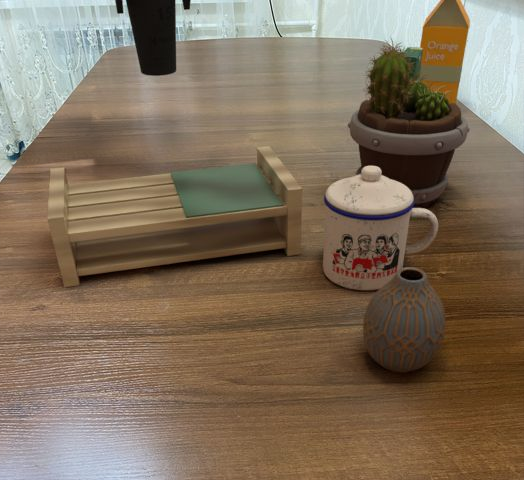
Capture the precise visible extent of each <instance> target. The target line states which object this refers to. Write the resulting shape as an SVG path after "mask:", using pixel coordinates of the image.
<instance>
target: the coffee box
mask: <svg viewBox="0 0 524 480" xmlns="http://www.w3.org/2000/svg"><path fill="white" fill-rule="evenodd" d="M403 51H404V52H403V53H406V54H404V56H403V58H404V57H405V55H406V58H404V59H407V60H408V59H411V60H408V62H409V61H410V62H409V64H410V63H413V62H415V63H413V65H412V64H410V65H412V66H413V67H414V68H415V70H412V71H410V72H409V79H410V80H411V77H410V76H414V75H415V76H416V77H417V76H418V77H419V78H420V74H419V73H420V70H421V61H422V53H423V48H420V46H419V47H418V46H416V47H415V46H407V47H405V49H404V50H403ZM403 53H402V54H403ZM409 54H410V55H409ZM407 55H408V56H407ZM408 57H409V58H408ZM407 60H406V61H407ZM410 67H411V66H410ZM413 67H411V68H413ZM417 69H418V70H417ZM418 72H419V73H418ZM413 73H414V74H413ZM415 73H416V74H415ZM410 74H411V75H410ZM417 74H419V75H417ZM415 76H414V78H413V77H412V78H413V81H415V80H414V79H415ZM419 78H417V81H419Z"/></svg>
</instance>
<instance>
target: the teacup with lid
mask: <svg viewBox="0 0 524 480" xmlns="http://www.w3.org/2000/svg"><path fill="white" fill-rule="evenodd" d="M381 174H382V171H381V169H380V168H379V167H377V166H366V167H364V168H363V169H362V170H361V174H359V175H356V174H355V175H353V176H349V177H345V178H341V179H339V180H336V181H334V182H333V183H332V184H330V185H329V186H328V188H327V189H326V190H325V194H324V196H323V202H324V204H325V218H324V233H323V234H324V236H323V238H324V239H323V255H322V257H323V258H322V271H323V274H324V275H325V276H326V277H327V279H328V280H330V281H331V282H332V283H334V284H336V285H338V286H340V287H342V288H346V289H350V290H356V291H375V290H376V291H378V290H379V289H380V288H382V287H383V286H384V285H385V284H386V283H388V282H389V281H390V280H391V279H392V278H393V277H394V276H395V274H396V273H397V271H398V270H399V269H401V268H404V260H405V255H412V254H413V255H414V254H417V253H420V252H422V251H425V250H426V249H427V248H428V247H429V246H430V245H432V243H433V242H434V240H435V239H436V236H437V235H438V234H437V233H438V231H439V221H438V218H437V216H436V215H435V214H434V212H432V211H431V210H429V209H427V208H413V206H414V198H413V194H412V192H411V190H410V189H409V188H408V187H407V186H405V185H404V184H402V183H400V182H398V181H395V180H392V179H389V178H387V177H385V176H383V175H381ZM410 218H423V219H426V220H427V221H428V222H430V227H429V229H428V231H427V233H426V234H425V236H424V237H423V238H422V239H421V240H419V241H417V242H416V243H412V244H407V239H408V233H409V227H410V226H409V225H410Z"/></svg>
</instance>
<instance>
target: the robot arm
mask: <svg viewBox="0 0 524 480" xmlns="http://www.w3.org/2000/svg"><path fill="white" fill-rule="evenodd" d="M123 1H124V0H114V2H115V7H116V13H117V15H119V14H120V15H122V14H124V2H123ZM181 2H182V7H183V10H184V11H189V10H191V2H192V1H191V0H181Z"/></svg>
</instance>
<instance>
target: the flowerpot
mask: <svg viewBox="0 0 524 480" xmlns="http://www.w3.org/2000/svg"><path fill="white" fill-rule="evenodd" d="M389 38H390V40H391V44H390V43H389V41H388V40H387V39H384V41H385V42H386V43H387V45H385V44H382V45H381V46H382V47H380V51H382V52H379V55H380V56H377V57H376V54H377V52H376V53H374V55H373V58H372V57H370V59H369V61H370V62H369V64H373V65H371V67H370V68H369V67H368V66H367V65H365V67H366V69H367V70H366V72H365V74H362V75H363V77H364V76H365V78H364V80H365V81H364V83H365V87H364V88H363V89H362V91H363V92H365V94H366V95H365V96H366V97H365V100H363V101H362V102H361V103H360V105H359V109H358V110H356V111H355V112H354V113H353V114H352V115H351V118H350V121H349V122H348V123H347V127H348V129H349V134H350V137H351V139H352V140H353V142H355V143H357V144H358V152H359V153H358V154H359V160H360V167H358V168H357V170H356V172H355V176H356V175H359V174H361V170H362V169H363V168H364V167H366V166H377V167H379V168H380V169H381V171H382V174H381V175H383V176H385V177H387V178H389V179H392V180H395V181H398V182H400V183H402V184H404V185H405V186H407V187H408V188H409V189H410V190H411V192H412V194H413V198H414V206H413V208H423V209H426V208H427V207H429V206H430V205H431V204H434V203H435V202H436V201H437V199H438V198H439V197H440V196H441V195H442V194H443V193H444V191H445V189H446V188H447V186H448V185H449V176H448V174H447V172H448V170H449V168H450V165H451V163H452V161H453V157H454V154H455V151H456V149H458V148H460V147H461V146H462V145H463V144H464V143H465V142H466V139H467V137H468V133H469V132H470V127H469V123H468V121H467V119H466V118H465V117H464V116H463V115H462V111H461V108H460V107H459V105H458V104H457V103H456V104H455V103H449V101H448V100H449V98H450V96H449V98H448V99H447V98H446V97H445V96H446V93H447V92H449V91H447V92H446V93H445V92H444V93H438V92H437V90H438V89H440V88H441V87H443V86H441V87H440V88H438V89H437V88H436V89H435V90H434V91H432V88H431V91H430V89H429V88H430V87H429V86H427V85H426V84H425V83H423V82H421V80H423V79H426V78H423V77H424V76H426V75H424V76H423V77H422V78H421V77H420V78H421V79H419V81H417V78H419V77H418V76H417V77H416V76H415V75H414V76H415V79H414V80H415V81H413V78H414V76H410V77H411V80H410V79H409V72H410V71H412V70H415V68H414V67H413V66H412V65H413V63H415V62H413V63H410V64H412V65H410V64H409V62H410V61H409V62H408V60H411V59H408V60H407V59H404V58H406V55H405V57H404V58H403V56H404V54H406V53H403V52H404V51H405V50H406V47H403V49H402V48H400V47H402V45H401V44H402V43H403V42H402V41H401V42H399V43H397V44H396V46H394V41H393V39H392V37H391V36H389ZM402 53H403V54H402ZM409 55H410V54H409ZM407 56H408V55H407ZM408 58H409V57H408ZM406 60H407V61H406ZM410 66H411V67H413V68H411V67H410ZM417 70H418V69H417ZM418 73H419V72H418ZM413 74H414V73H413ZM415 74H416V73H415ZM419 74H420V73H419ZM419 74H417V75H419ZM410 75H411V74H410ZM412 77H413V78H412ZM367 82H368V83H369V84H368V83H367ZM428 82H429V81H428ZM433 83H434V82H433ZM433 83H432V84H433ZM432 84H431V85H432ZM431 85H430V86H431ZM434 88H435V87H434ZM445 91H446V90H445ZM369 95H370V96H369ZM367 98H369V99H367Z"/></svg>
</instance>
